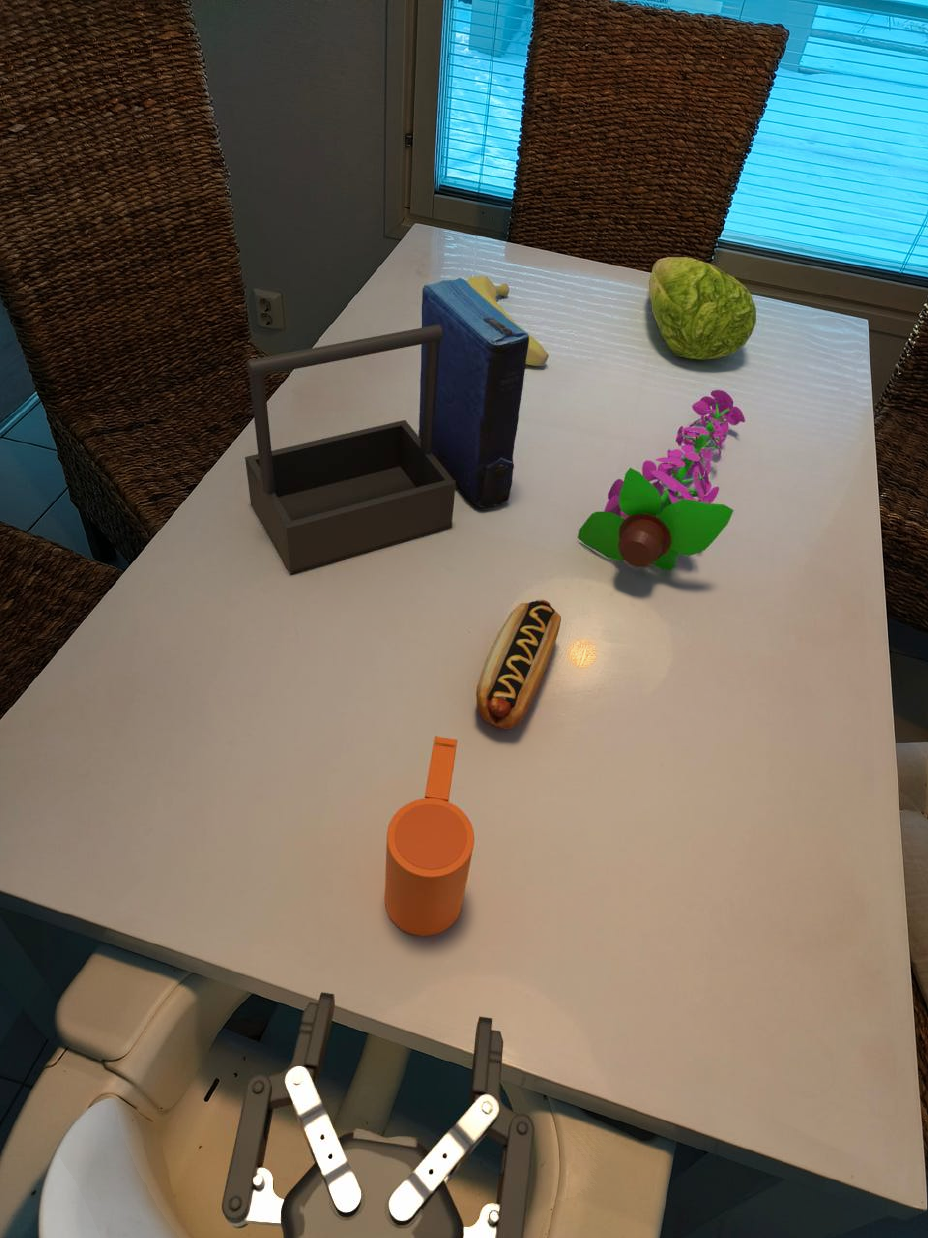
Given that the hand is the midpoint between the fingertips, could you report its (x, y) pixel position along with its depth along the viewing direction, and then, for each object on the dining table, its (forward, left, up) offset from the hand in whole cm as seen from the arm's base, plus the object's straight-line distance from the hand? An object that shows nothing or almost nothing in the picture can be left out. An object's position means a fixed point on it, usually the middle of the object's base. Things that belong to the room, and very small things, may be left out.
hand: (405, 1009), depth 46 cm
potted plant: (+62, +19, -10) cm, 66 cm away
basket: (+34, +41, -10) cm, 54 cm away
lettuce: (+97, +39, -10) cm, 105 cm away
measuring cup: (+11, +8, -10) cm, 17 cm away
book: (+48, +38, -10) cm, 62 cm away
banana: (+77, +56, -10) cm, 96 cm away
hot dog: (+29, +15, -10) cm, 34 cm away
